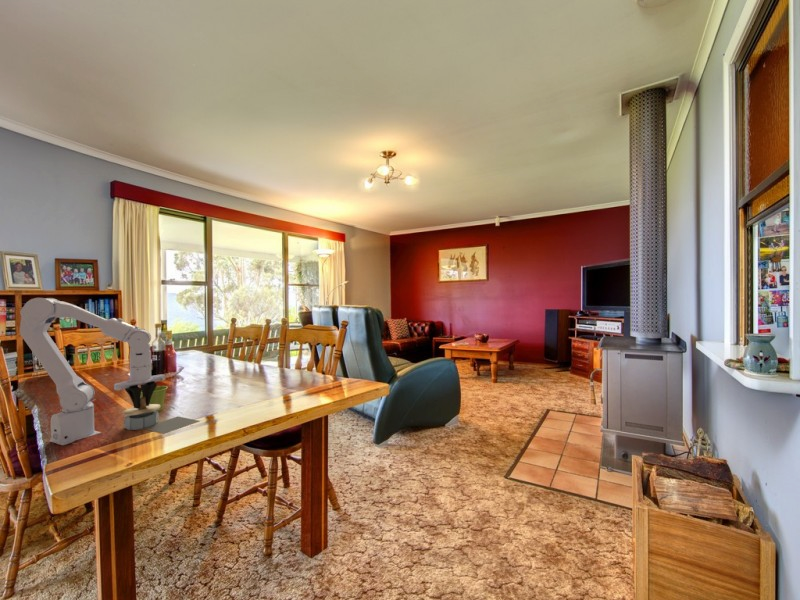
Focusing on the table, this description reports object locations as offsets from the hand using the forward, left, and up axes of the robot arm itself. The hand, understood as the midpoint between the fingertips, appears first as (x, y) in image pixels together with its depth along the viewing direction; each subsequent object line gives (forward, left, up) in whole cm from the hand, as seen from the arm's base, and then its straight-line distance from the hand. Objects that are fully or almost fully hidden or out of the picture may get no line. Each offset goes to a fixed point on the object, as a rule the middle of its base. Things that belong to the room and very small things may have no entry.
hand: (141, 406), depth 116 cm
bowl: (0, 0, -7) cm, 7 cm away
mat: (+4, -9, -7) cm, 12 cm away
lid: (0, 0, -1) cm, 1 cm away
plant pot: (+11, +13, -7) cm, 18 cm away
